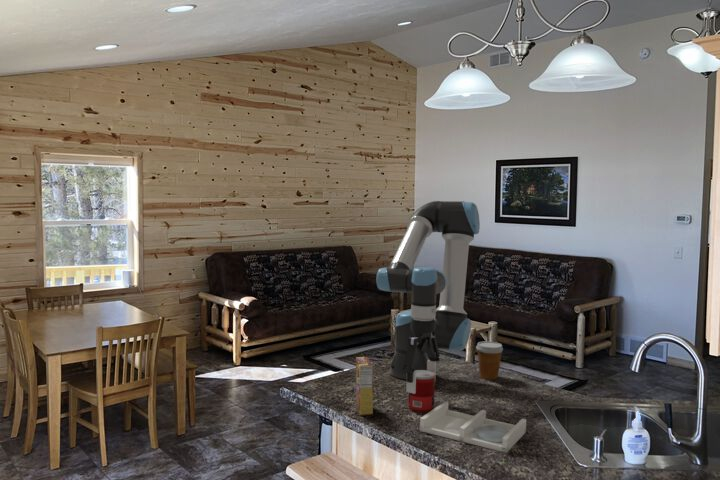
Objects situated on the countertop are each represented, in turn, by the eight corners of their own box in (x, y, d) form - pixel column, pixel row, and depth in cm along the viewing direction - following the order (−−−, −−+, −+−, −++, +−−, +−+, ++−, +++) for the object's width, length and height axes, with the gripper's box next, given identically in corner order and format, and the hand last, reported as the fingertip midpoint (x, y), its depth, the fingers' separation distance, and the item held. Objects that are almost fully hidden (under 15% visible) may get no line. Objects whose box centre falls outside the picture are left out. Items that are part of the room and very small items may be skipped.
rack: (444, 416, 181) (444, 401, 181) (525, 435, 168) (526, 419, 168) (419, 434, 168) (420, 418, 167) (506, 456, 155) (507, 439, 154)
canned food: (438, 411, 185) (439, 376, 184) (413, 413, 183) (414, 378, 182) (428, 402, 192) (429, 368, 191) (404, 405, 190) (405, 370, 189)
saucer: (483, 427, 171) (483, 422, 171) (514, 434, 166) (515, 430, 166) (471, 437, 163) (471, 433, 163) (503, 446, 158) (503, 441, 158)
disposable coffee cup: (470, 377, 218) (471, 345, 217) (481, 371, 226) (482, 339, 225) (496, 382, 213) (497, 349, 212) (506, 376, 221) (507, 343, 220)
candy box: (354, 404, 190) (355, 356, 189) (368, 404, 190) (369, 356, 189) (358, 415, 181) (359, 365, 180) (373, 414, 182) (373, 364, 180)
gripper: (415, 326, 172) (413, 400, 174) (451, 313, 193) (449, 379, 195) (392, 323, 177) (390, 395, 178) (430, 311, 198) (428, 375, 199)
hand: (421, 386), depth 186 cm, fingers open, 13 cm apart
